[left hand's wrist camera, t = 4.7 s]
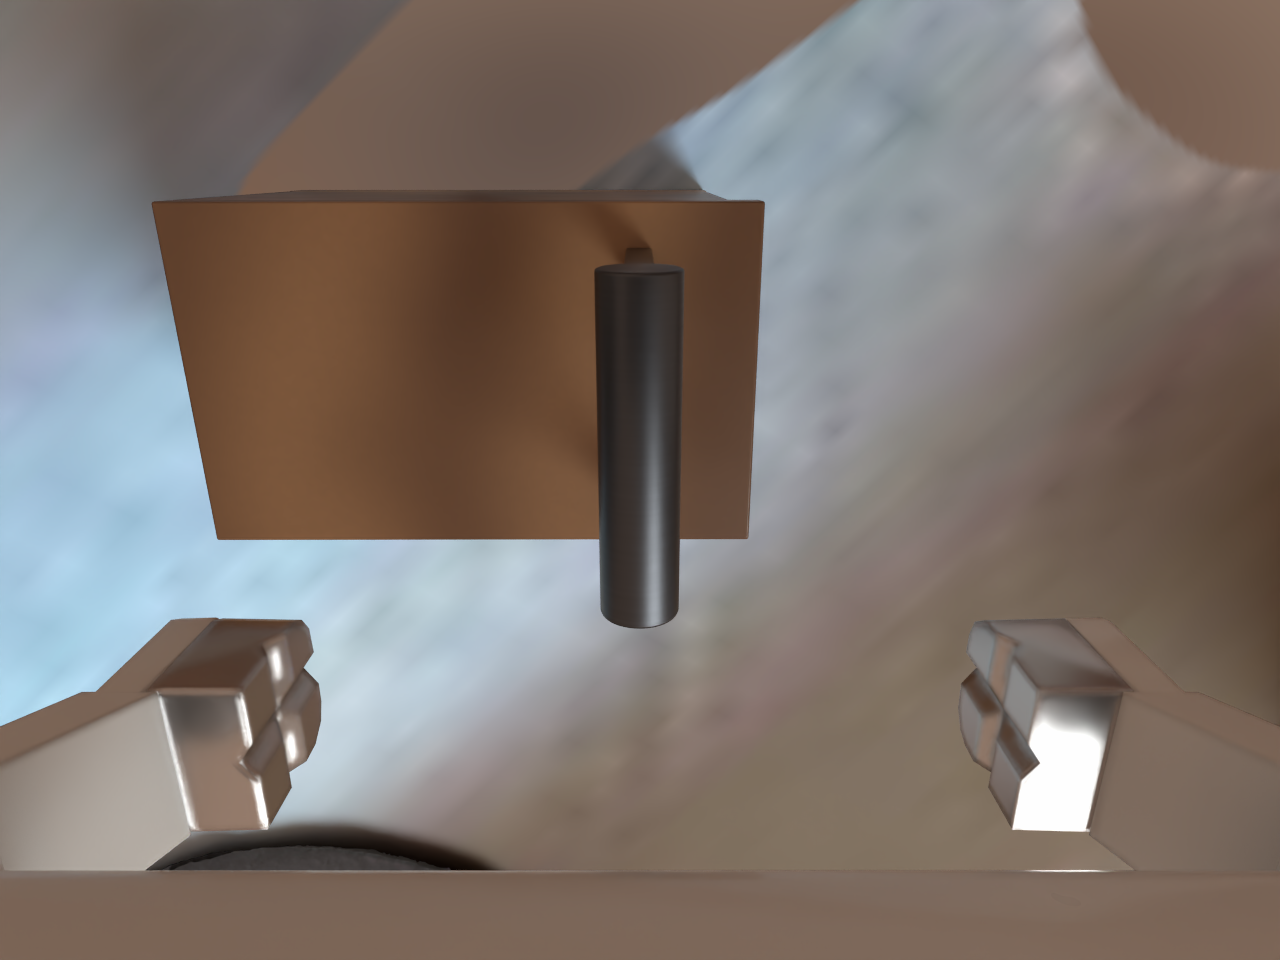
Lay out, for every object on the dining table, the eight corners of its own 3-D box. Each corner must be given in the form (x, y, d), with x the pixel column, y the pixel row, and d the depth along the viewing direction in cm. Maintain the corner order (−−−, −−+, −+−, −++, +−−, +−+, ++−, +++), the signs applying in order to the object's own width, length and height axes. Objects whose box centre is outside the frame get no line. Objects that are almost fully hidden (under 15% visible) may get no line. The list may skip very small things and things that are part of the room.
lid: (760, 199, 23) (818, 215, 16) (744, 527, 27) (787, 669, 19) (169, 200, 23) (-57, 216, 16) (230, 528, 27) (70, 670, 19)
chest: (703, 189, 32) (729, 199, 23) (697, 434, 36) (718, 526, 27) (303, 190, 32) (169, 199, 23) (336, 434, 36) (231, 527, 27)
